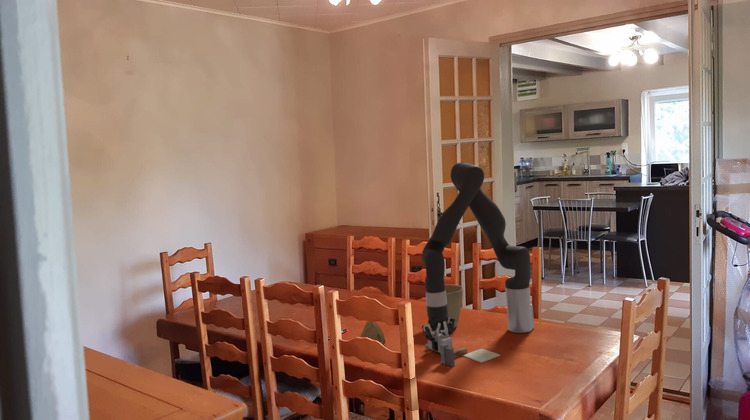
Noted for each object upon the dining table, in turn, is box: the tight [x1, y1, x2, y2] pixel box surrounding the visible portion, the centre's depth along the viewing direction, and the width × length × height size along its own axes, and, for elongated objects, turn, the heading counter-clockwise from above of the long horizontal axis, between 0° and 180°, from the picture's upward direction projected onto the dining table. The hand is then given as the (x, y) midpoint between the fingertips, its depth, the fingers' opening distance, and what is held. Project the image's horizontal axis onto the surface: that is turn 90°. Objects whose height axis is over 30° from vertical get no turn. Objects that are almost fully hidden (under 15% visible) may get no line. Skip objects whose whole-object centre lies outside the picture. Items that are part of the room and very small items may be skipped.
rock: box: [360, 321, 386, 345], centre depth 220 cm, size 11×9×10 cm
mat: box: [462, 348, 501, 364], centre depth 199 cm, size 9×9×1 cm
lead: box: [427, 333, 454, 353], centre depth 205 cm, size 4×9×5 cm, turn 33°
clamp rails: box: [424, 343, 468, 359], centre depth 206 cm, size 8×14×2 cm, turn 33°
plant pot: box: [445, 284, 464, 329], centre depth 234 cm, size 15×15×16 cm
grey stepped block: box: [440, 343, 456, 367], centre depth 194 cm, size 2×5×7 cm, turn 33°
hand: (440, 348), depth 205 cm, fingers closed on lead, 4 cm apart
